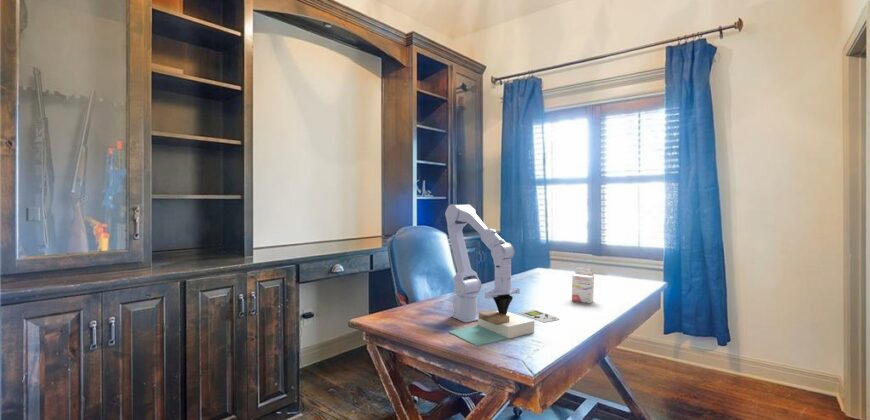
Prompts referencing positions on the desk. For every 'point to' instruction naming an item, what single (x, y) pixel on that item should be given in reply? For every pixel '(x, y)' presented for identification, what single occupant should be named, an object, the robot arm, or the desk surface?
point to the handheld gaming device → (539, 316)
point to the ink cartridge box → (583, 285)
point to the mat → (477, 335)
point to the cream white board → (510, 326)
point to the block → (494, 317)
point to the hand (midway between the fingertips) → (502, 316)
